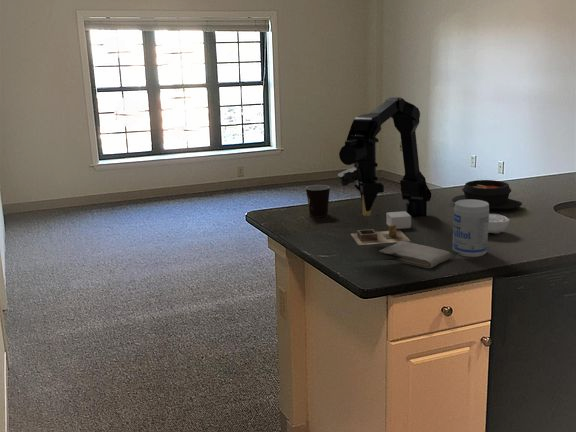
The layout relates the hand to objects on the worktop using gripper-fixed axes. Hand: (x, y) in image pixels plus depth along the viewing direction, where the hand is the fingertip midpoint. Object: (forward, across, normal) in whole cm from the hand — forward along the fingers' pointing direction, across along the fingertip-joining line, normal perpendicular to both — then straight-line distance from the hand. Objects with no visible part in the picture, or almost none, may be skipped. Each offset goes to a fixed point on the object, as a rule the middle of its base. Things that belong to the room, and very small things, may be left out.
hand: (366, 209), depth 194 cm
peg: (+2, 0, 0) cm, 2 cm away
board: (+10, 0, +4) cm, 11 cm away
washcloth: (+11, +17, +10) cm, 22 cm away
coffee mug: (+10, -38, -9) cm, 40 cm away
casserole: (+11, -31, +51) cm, 61 cm away
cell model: (+11, 0, +39) cm, 40 cm away
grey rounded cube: (+10, -11, +13) cm, 20 cm away
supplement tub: (+10, +17, +26) cm, 33 cm away
